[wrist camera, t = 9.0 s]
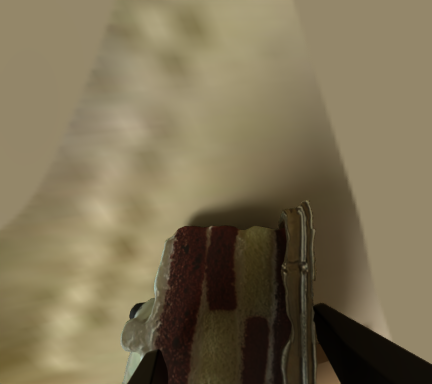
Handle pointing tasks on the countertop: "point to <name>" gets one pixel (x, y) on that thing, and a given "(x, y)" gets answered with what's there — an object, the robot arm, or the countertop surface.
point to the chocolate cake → (232, 305)
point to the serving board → (324, 369)
